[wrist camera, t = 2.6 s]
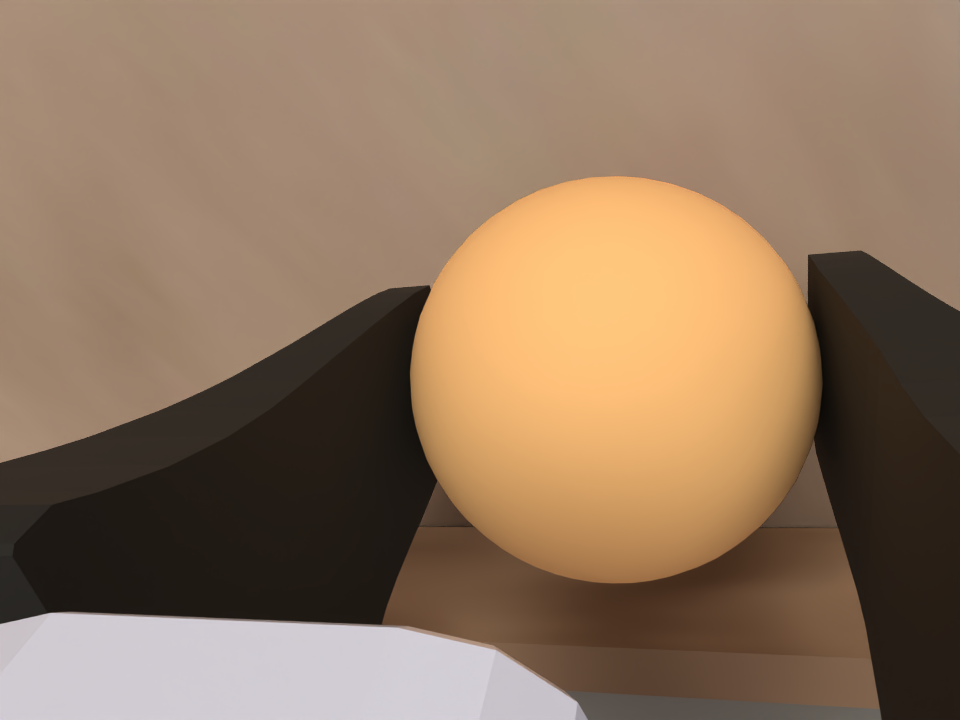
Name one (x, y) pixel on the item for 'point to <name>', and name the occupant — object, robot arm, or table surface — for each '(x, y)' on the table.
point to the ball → (616, 379)
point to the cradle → (706, 709)
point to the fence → (657, 619)
